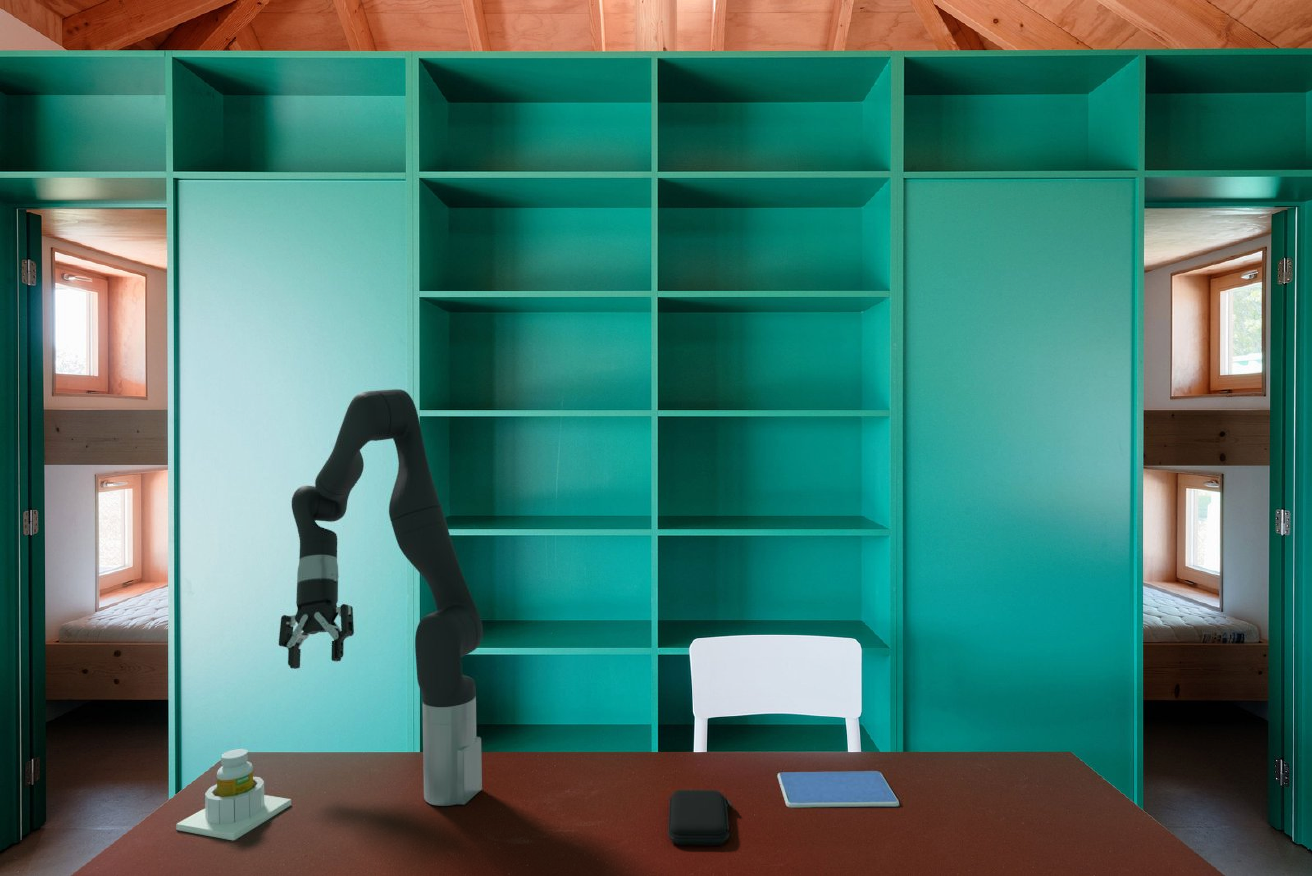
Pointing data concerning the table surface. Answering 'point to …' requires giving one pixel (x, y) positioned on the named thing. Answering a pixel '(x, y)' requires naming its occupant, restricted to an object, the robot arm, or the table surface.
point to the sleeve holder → (233, 812)
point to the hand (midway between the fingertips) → (315, 664)
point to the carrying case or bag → (698, 817)
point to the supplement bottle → (234, 774)
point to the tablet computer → (836, 789)
